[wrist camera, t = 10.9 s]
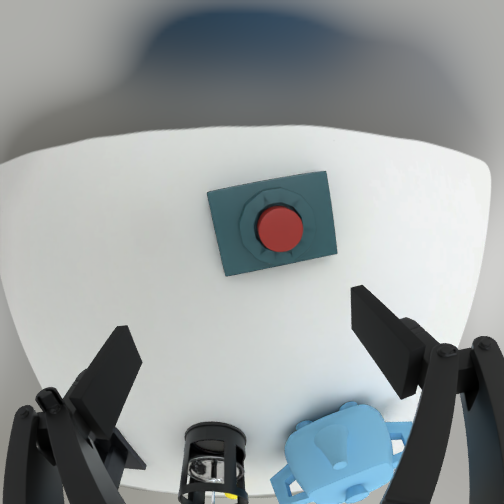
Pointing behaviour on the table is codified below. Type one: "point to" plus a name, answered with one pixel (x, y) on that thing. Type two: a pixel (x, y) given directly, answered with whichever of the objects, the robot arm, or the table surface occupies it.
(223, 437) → the french press
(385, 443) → the teapot
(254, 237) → the button box
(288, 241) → the stop button
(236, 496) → the light bulb
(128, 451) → the ball knob lever stand
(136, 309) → the table surface
